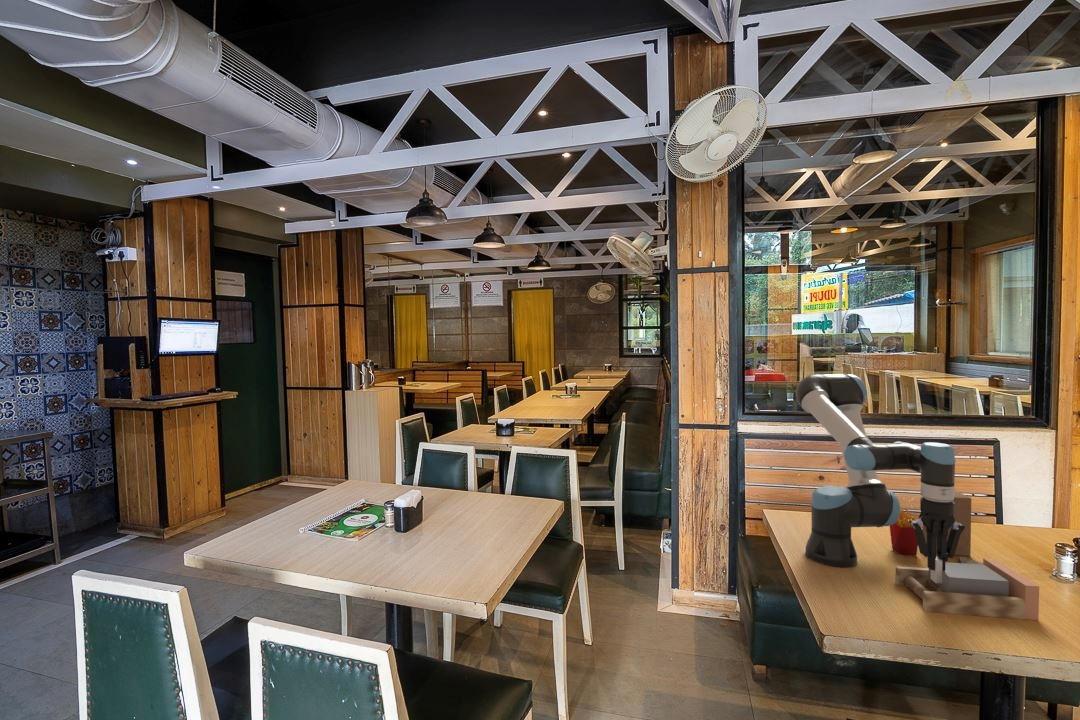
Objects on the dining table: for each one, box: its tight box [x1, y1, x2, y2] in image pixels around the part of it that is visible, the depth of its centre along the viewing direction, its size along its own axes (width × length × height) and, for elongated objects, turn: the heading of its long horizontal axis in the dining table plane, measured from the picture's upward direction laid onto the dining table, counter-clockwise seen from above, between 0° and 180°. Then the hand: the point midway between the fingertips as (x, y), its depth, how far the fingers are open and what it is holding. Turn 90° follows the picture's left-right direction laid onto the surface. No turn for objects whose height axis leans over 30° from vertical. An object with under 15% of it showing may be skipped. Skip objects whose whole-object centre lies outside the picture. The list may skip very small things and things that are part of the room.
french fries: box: [889, 506, 919, 557], centre depth 174 cm, size 9×8×15 cm
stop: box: [982, 558, 1040, 621], centre depth 139 cm, size 3×16×9 cm, turn 169°
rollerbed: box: [894, 565, 1026, 620], centre depth 142 cm, size 23×16×5 cm
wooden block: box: [922, 489, 972, 557], centre depth 174 cm, size 10×10×20 cm
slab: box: [929, 561, 1009, 597], centre depth 141 cm, size 14×10×5 cm
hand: (936, 580), depth 142 cm, fingers closed
